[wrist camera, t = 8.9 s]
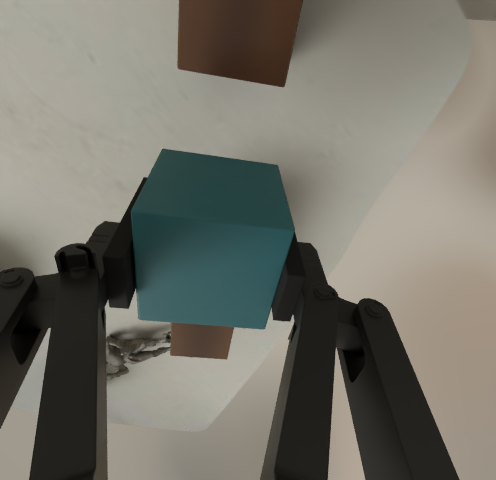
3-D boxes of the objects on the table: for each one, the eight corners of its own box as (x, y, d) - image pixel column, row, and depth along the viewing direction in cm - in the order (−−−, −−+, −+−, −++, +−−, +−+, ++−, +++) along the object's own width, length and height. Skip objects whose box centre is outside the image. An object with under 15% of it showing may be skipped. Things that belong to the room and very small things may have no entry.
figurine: (185, 368, 39) (97, 395, 40) (190, 348, 42) (110, 373, 44) (164, 328, 37) (73, 357, 38) (171, 310, 40) (88, 337, 42)
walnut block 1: (235, 280, 35) (234, 324, 30) (228, 315, 38) (227, 359, 34) (179, 274, 34) (169, 318, 29) (177, 310, 38) (168, 355, 33)
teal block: (278, 164, 17) (295, 229, 12) (258, 252, 20) (265, 330, 15) (159, 147, 16) (125, 209, 11) (159, 241, 19) (134, 320, 15)
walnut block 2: (295, -40, 19) (314, -55, 14) (274, 70, 23) (284, 87, 18) (193, -63, 18) (177, -87, 14) (188, 54, 22) (174, 68, 17)
